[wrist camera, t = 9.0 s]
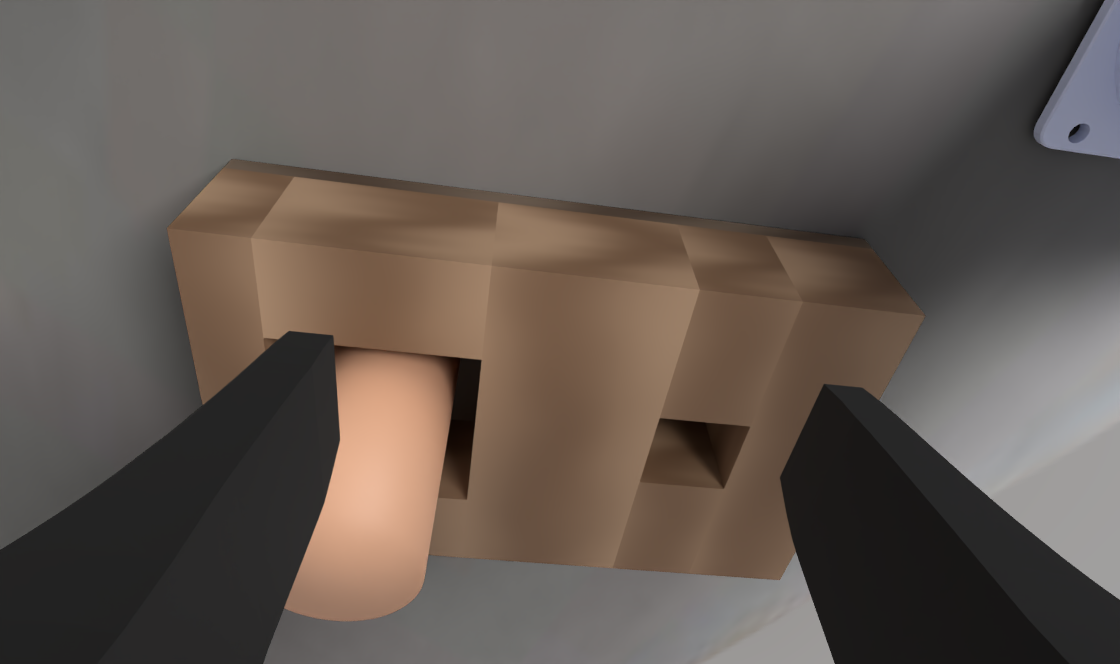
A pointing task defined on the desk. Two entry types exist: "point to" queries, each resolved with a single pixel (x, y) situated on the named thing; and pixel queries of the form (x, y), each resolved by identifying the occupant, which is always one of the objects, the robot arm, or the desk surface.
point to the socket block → (559, 351)
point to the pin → (379, 485)
